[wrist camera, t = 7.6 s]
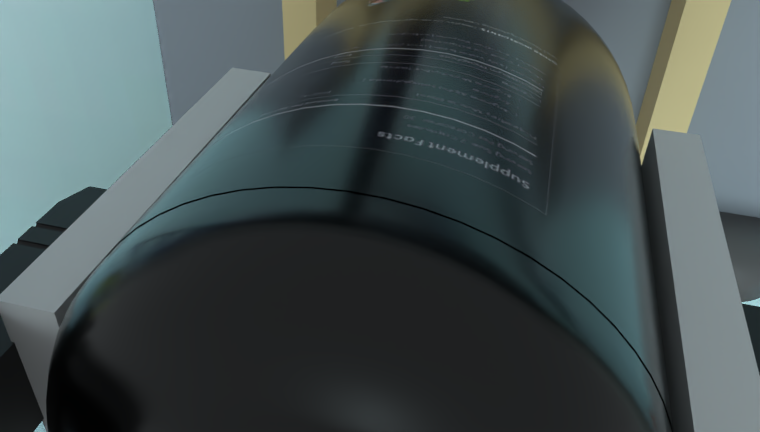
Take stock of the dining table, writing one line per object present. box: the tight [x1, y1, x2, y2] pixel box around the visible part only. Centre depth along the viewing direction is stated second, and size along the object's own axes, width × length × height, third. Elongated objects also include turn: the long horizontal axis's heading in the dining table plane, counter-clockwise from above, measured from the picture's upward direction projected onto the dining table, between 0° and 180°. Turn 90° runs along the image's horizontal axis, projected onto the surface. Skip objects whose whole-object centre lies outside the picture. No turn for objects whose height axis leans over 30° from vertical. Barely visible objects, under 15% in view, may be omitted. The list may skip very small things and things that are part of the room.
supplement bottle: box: [46, 0, 674, 432], centre depth 9 cm, size 7×7×12 cm
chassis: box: [153, 0, 760, 302], centre depth 20 cm, size 22×15×4 cm, turn 88°
